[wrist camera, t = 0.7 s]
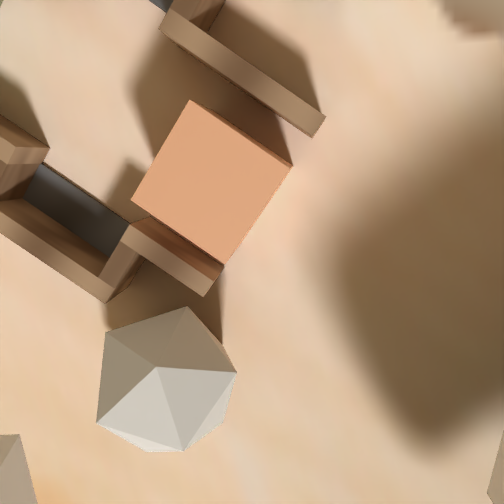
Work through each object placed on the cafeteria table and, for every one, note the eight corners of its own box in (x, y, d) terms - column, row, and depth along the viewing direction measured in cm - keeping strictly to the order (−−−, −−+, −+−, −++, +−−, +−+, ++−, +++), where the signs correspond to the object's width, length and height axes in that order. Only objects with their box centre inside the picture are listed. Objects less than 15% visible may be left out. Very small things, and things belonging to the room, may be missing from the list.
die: (114, 378, 33) (130, 510, 26) (72, 300, 27) (78, 442, 20) (218, 342, 34) (260, 457, 27) (198, 262, 29) (245, 381, 22)
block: (293, 166, 28) (289, 168, 22) (241, 242, 29) (224, 264, 23) (214, 111, 27) (189, 99, 22) (165, 191, 29) (130, 200, 23)
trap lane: (364, 62, 26) (381, 34, 20) (184, 326, 31) (155, 365, 25) (50, -158, 25) (-27, -252, 19) (-81, 146, 30) (-174, 144, 24)
